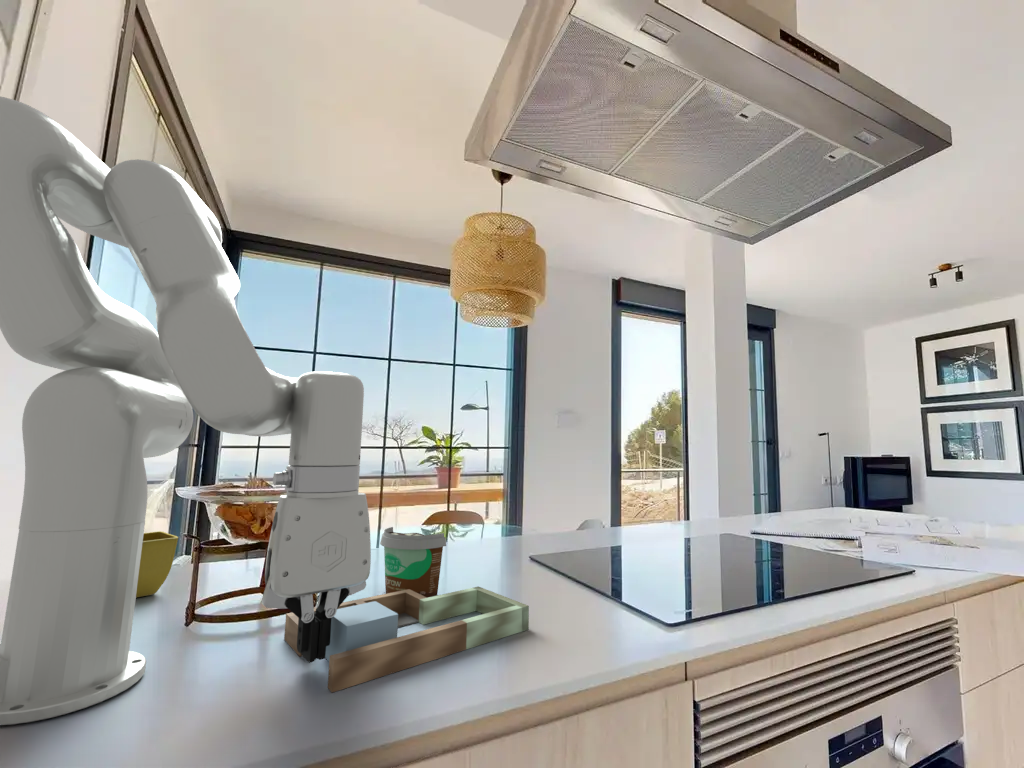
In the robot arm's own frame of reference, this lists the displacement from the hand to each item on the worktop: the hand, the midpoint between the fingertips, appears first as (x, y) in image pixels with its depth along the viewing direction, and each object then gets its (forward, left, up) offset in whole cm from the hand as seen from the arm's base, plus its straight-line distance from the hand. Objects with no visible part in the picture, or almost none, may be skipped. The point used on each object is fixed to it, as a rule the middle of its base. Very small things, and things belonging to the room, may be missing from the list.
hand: (312, 655), depth 50 cm
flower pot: (-14, +44, -2) cm, 46 cm away
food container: (+20, +18, -2) cm, 27 cm away
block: (+5, 0, -2) cm, 6 cm away
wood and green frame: (+13, +3, -2) cm, 14 cm away
